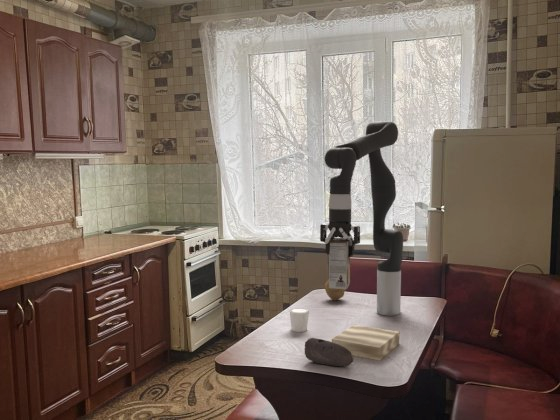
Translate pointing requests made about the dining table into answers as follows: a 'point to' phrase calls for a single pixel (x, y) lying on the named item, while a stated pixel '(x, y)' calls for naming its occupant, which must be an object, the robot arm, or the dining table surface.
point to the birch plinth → (368, 341)
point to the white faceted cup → (299, 319)
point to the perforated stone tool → (327, 352)
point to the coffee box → (339, 264)
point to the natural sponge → (334, 292)
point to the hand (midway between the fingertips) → (339, 255)
